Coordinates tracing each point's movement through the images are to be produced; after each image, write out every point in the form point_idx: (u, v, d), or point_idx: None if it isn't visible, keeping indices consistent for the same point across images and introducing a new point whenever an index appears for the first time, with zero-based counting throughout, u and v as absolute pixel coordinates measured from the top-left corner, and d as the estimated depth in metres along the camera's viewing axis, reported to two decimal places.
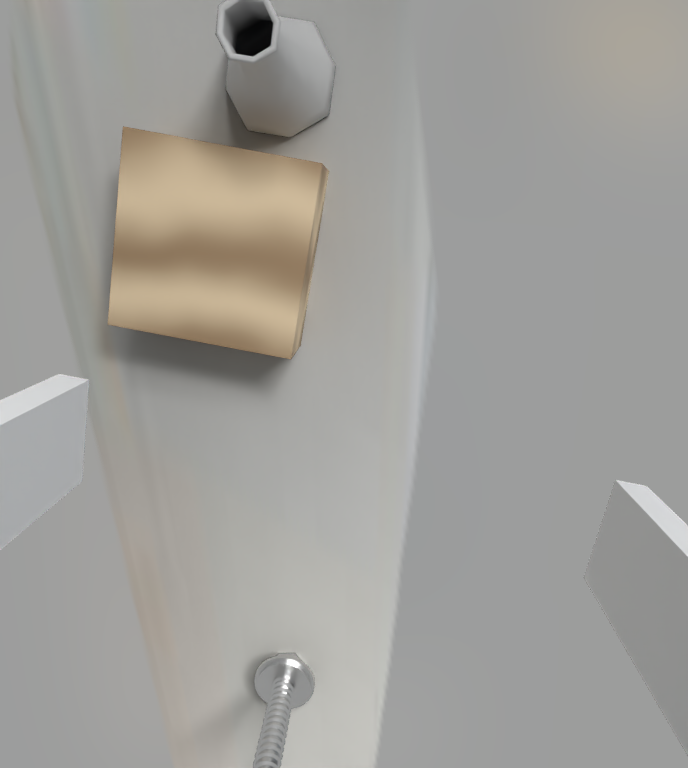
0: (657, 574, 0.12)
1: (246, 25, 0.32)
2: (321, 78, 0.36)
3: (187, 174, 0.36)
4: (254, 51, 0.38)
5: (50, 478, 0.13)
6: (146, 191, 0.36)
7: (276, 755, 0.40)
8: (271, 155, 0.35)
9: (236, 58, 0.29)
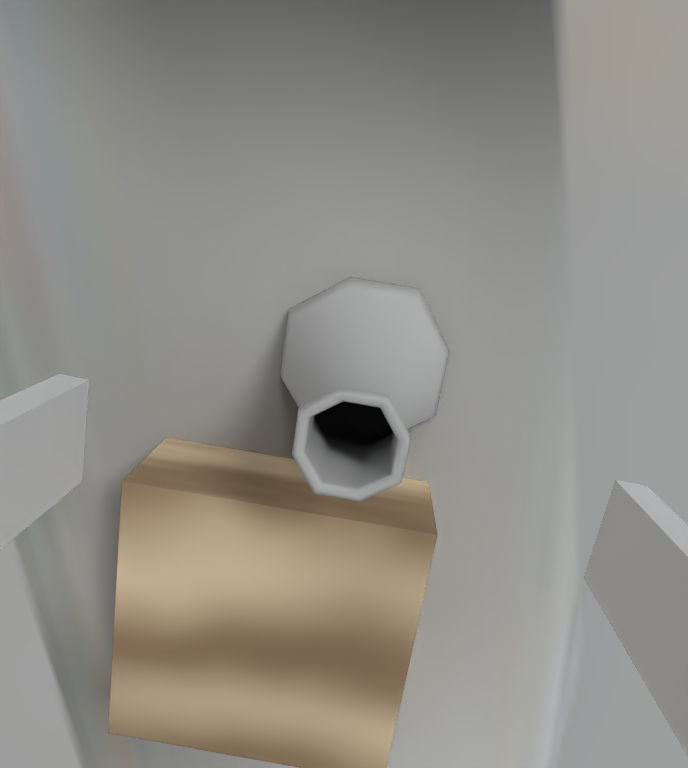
0: (657, 574, 0.12)
1: (330, 365, 0.19)
2: (432, 384, 0.23)
3: (223, 545, 0.23)
4: None
5: (50, 478, 0.13)
6: (160, 567, 0.23)
7: None
8: (356, 522, 0.22)
9: (328, 493, 0.16)
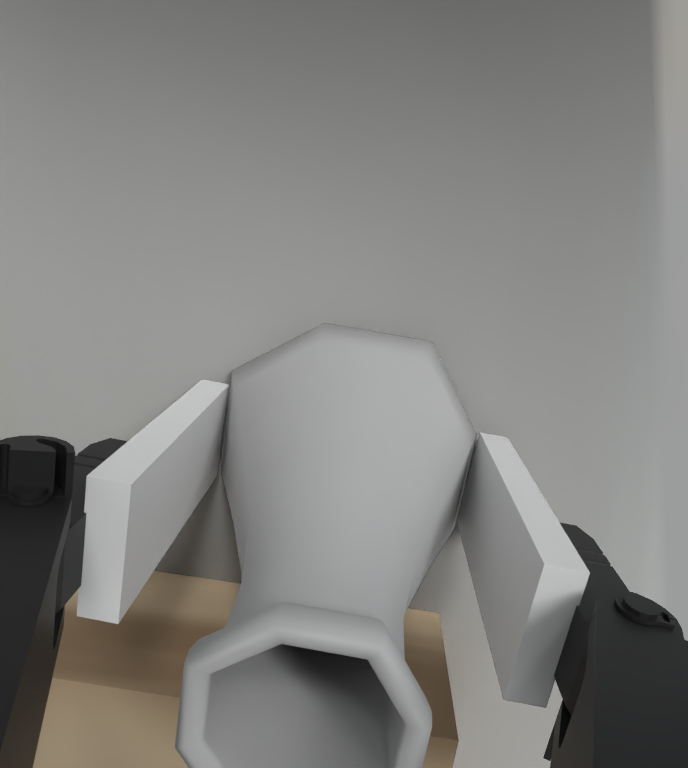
0: (490, 505, 0.13)
1: (280, 498, 0.11)
2: (453, 493, 0.15)
3: (115, 756, 0.14)
4: None
5: (204, 472, 0.15)
6: None
7: None
8: None
9: None
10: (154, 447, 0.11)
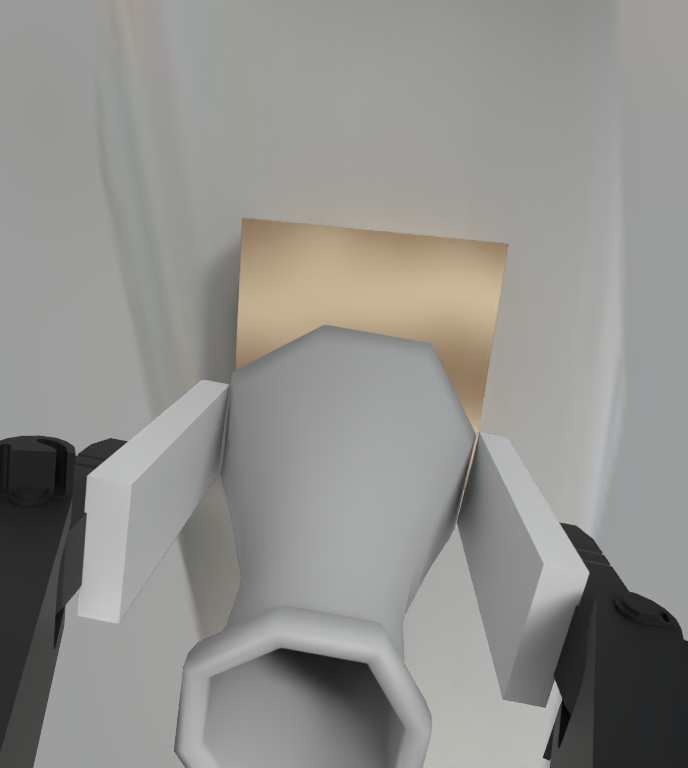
0: (490, 505, 0.13)
1: (280, 500, 0.11)
2: (453, 495, 0.15)
3: (328, 271, 0.27)
4: None
5: (204, 472, 0.15)
6: (275, 297, 0.28)
7: None
8: (439, 239, 0.27)
9: None
10: (154, 447, 0.11)
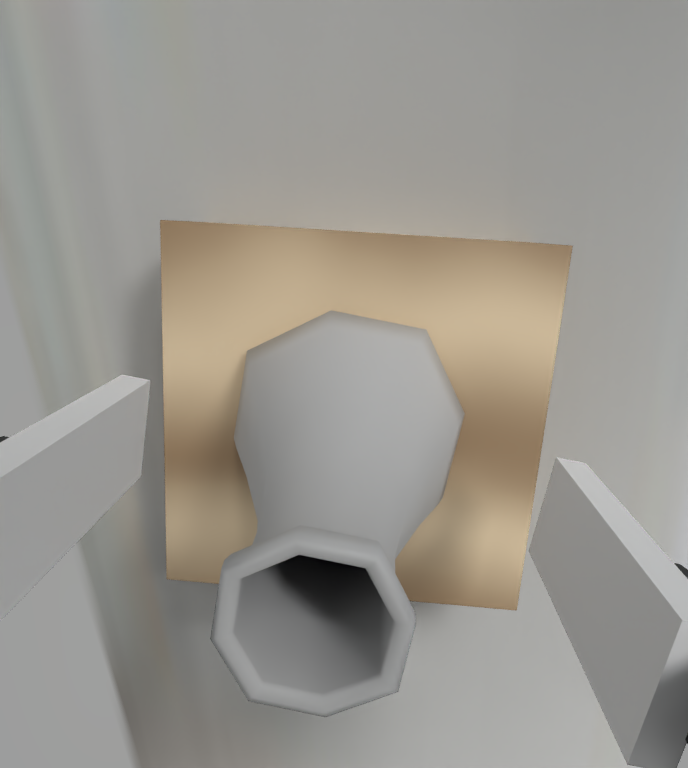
0: (583, 541, 0.13)
1: (293, 455, 0.13)
2: (442, 464, 0.17)
3: (296, 297, 0.18)
4: None
5: (118, 473, 0.14)
6: (217, 338, 0.18)
7: None
8: (465, 242, 0.17)
9: (272, 702, 0.09)
10: (34, 445, 0.10)
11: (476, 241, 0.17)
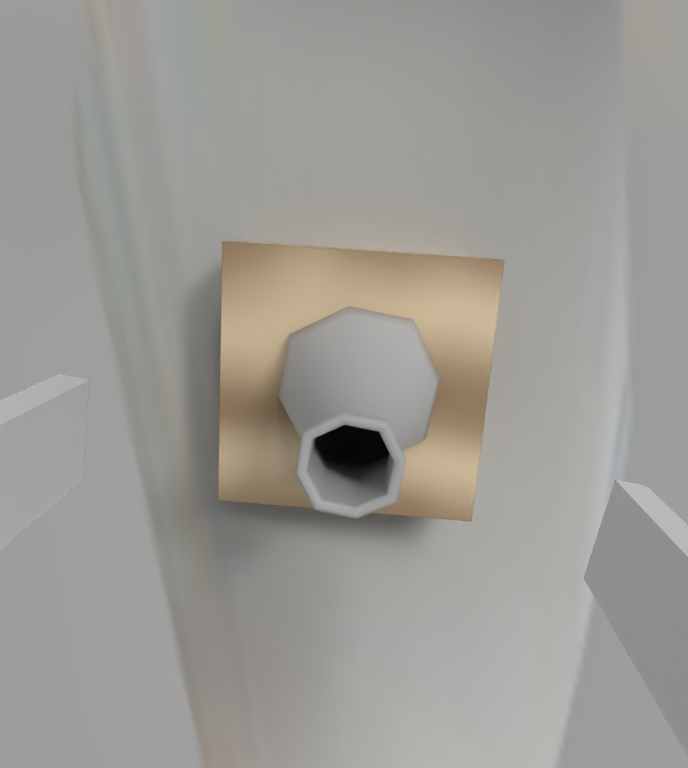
0: (657, 574, 0.12)
1: (331, 390, 0.20)
2: (424, 410, 0.25)
3: (315, 294, 0.26)
4: None
5: (50, 478, 0.13)
6: (259, 323, 0.26)
7: None
8: (431, 257, 0.25)
9: (327, 510, 0.17)
10: None
11: (439, 257, 0.25)
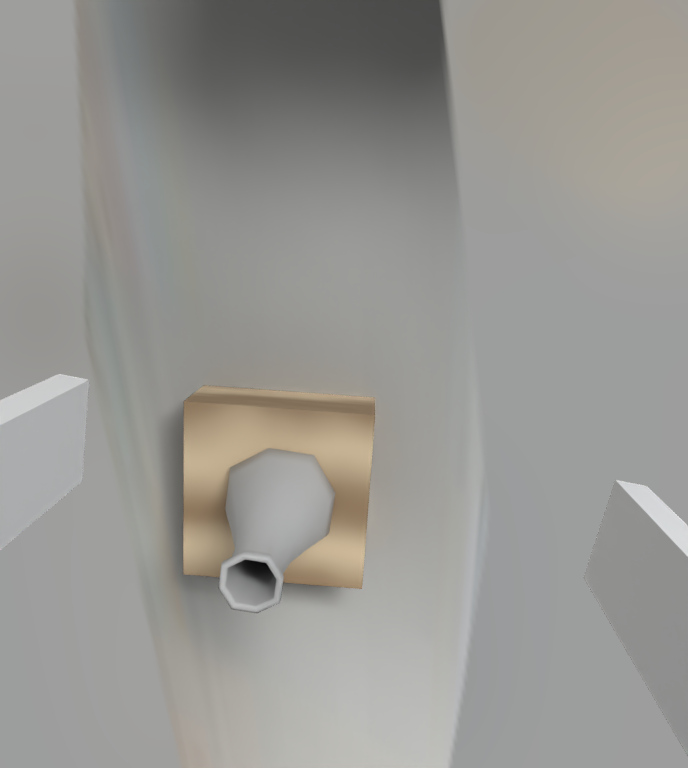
0: (657, 574, 0.12)
1: (247, 523, 0.32)
2: (321, 519, 0.36)
3: (248, 436, 0.37)
4: None
5: (50, 478, 0.13)
6: (210, 455, 0.38)
7: None
8: (326, 412, 0.37)
9: (239, 609, 0.29)
10: None
11: (331, 412, 0.37)
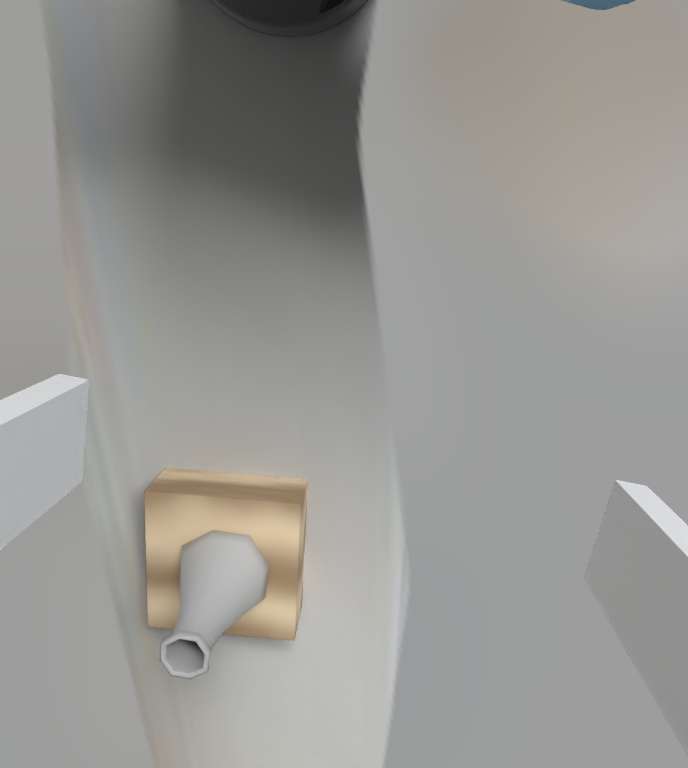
0: (657, 574, 0.12)
1: (188, 601, 0.40)
2: (255, 589, 0.45)
3: (197, 519, 0.46)
4: None
5: (50, 478, 0.13)
6: (167, 533, 0.46)
7: None
8: (260, 501, 0.45)
9: (176, 675, 0.37)
10: None
11: (264, 501, 0.45)
